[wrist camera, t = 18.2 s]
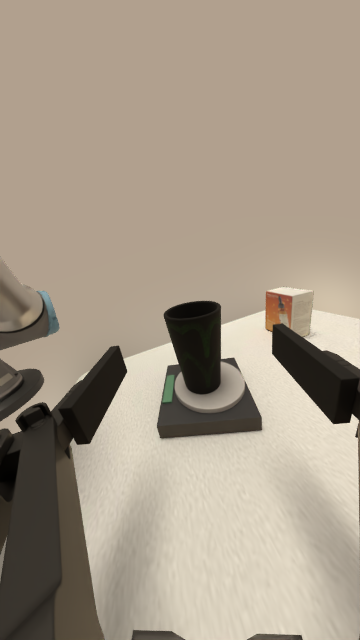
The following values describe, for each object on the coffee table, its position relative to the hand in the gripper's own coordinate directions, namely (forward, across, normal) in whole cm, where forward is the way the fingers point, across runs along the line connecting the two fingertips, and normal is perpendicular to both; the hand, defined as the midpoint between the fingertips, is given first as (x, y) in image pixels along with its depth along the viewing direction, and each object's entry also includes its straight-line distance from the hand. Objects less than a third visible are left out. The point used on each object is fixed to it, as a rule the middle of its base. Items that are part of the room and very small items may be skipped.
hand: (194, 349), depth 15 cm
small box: (+27, +22, -14) cm, 38 cm away
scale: (+9, 0, -14) cm, 17 cm away
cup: (+9, 0, -11) cm, 15 cm away
